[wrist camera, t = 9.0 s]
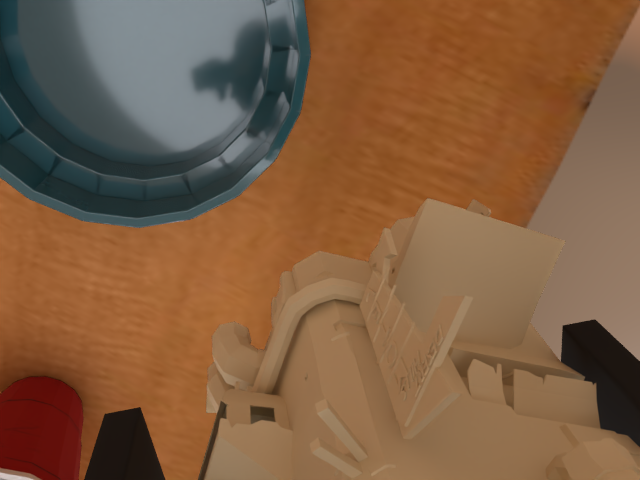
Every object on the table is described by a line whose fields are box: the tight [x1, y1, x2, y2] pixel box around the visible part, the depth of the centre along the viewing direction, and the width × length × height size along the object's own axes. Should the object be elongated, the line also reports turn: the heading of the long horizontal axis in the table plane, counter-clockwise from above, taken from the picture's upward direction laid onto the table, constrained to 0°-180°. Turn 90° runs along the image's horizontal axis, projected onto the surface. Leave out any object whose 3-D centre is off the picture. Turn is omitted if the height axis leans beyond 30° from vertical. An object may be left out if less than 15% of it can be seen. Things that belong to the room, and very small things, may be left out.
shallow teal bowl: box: [0, 0, 311, 228], centre depth 30 cm, size 18×18×6 cm
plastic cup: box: [0, 376, 83, 480], centre depth 37 cm, size 11×11×12 cm
